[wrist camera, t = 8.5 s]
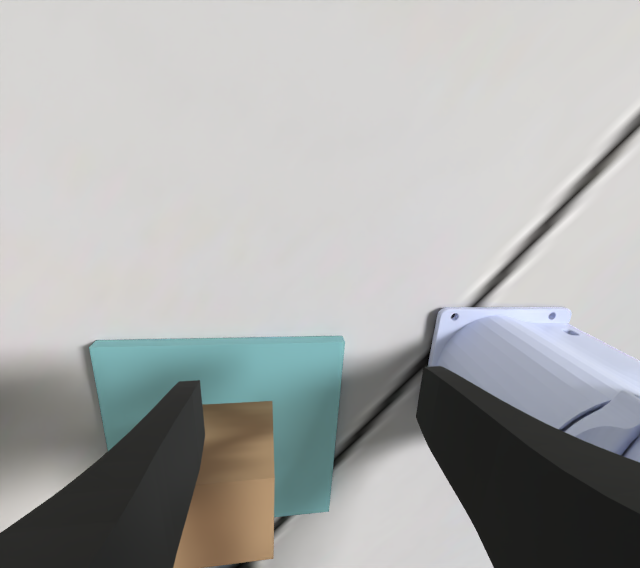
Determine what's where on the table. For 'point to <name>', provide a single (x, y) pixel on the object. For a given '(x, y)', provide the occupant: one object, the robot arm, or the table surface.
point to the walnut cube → (232, 489)
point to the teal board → (238, 397)
